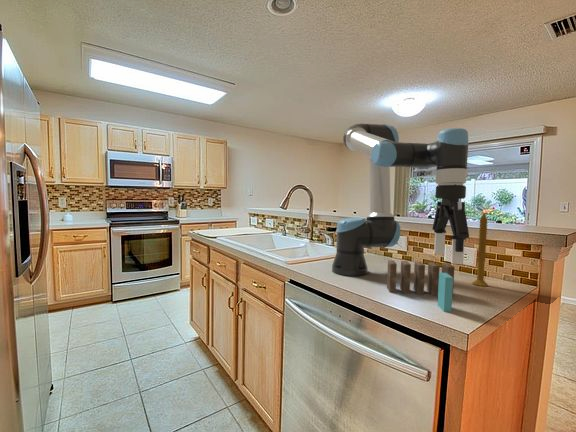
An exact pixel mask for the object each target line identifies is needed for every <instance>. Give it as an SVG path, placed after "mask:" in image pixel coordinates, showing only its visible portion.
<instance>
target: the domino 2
mask: <svg viewBox="0 0 576 432" xmlns="http://www.w3.org/2000/svg"><path fill="white" fill-rule="evenodd" d="M411 265H412V264H411V263H410V262H408V261H407V260H400V279H399V284H400V285H399V288H400V291H401V292H402V293H403V294H408V295H410V291H411V269H412V266H411Z"/></svg>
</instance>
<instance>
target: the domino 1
mask: <svg viewBox="0 0 576 432" xmlns="http://www.w3.org/2000/svg"><path fill="white" fill-rule="evenodd" d="M397 265H398V264H397V262H396V261H395V260H390V259H389V260H387V274H386V275H387V276H386V277H387V278H386V289H387V290H388V292H389V293H395V294H396V293H397V292H396V291H397V290H396V289H397V271H398V270H397Z"/></svg>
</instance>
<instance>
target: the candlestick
mask: <svg viewBox="0 0 576 432" xmlns="http://www.w3.org/2000/svg"><path fill="white" fill-rule="evenodd" d="M478 230H479V231H478V234H479V235H478V241H477V243H478V244H477V245H478V246H477V259H476V260H477V273H476V279H475V280H474V281H472V282H471V284H473V285H475V286H477V287H488V286H489V284H488V283H487V281H485V279H484V277H485V262H486V256H487V241H488V240H487V239H488V238H487V236H488V219H487V215H486V213H485V212H483V213H482V214H481V216H480V218H479V229H478Z"/></svg>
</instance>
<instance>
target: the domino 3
mask: <svg viewBox="0 0 576 432" xmlns="http://www.w3.org/2000/svg"><path fill="white" fill-rule="evenodd" d="M413 266H414V269H413V270H414V271H413V286H412V287H413V291H414V292H415V293H416V295H422V296H423V295H424V294H425V280H426V279H425V275H426V264H424V263H423V262H421V261H414V265H413Z"/></svg>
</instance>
